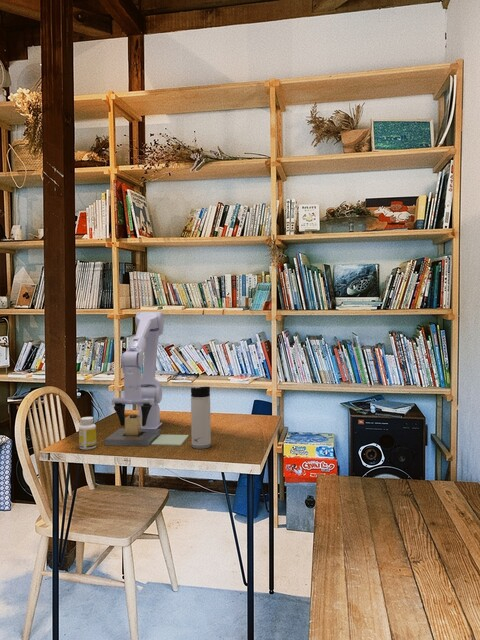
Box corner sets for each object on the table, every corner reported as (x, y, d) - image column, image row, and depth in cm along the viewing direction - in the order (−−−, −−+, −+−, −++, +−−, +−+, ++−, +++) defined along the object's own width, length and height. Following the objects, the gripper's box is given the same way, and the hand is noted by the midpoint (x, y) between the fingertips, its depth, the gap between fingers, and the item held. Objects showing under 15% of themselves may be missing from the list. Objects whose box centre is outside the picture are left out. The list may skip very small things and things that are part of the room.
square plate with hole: (120, 433, 185) (120, 428, 185) (160, 434, 183) (160, 429, 183) (104, 445, 170) (104, 439, 170) (148, 446, 168) (148, 440, 168)
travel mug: (196, 450, 163) (195, 387, 162) (188, 445, 169) (187, 385, 168) (214, 447, 166) (213, 386, 165) (206, 442, 172) (205, 383, 171)
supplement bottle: (99, 445, 170) (98, 416, 170) (92, 450, 165) (92, 419, 164) (83, 445, 171) (82, 416, 170) (76, 449, 165) (75, 419, 165)
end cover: (129, 438, 179) (129, 413, 179) (141, 438, 179) (141, 413, 178) (125, 441, 175) (124, 416, 175) (137, 441, 174) (137, 416, 174)
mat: (160, 435, 182) (160, 434, 182) (188, 436, 181) (188, 435, 181) (151, 445, 170) (151, 443, 170) (180, 445, 169) (180, 444, 169)
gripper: (108, 387, 173) (108, 427, 173) (149, 388, 171) (150, 428, 172) (115, 384, 180) (116, 422, 180) (155, 384, 178) (156, 423, 179)
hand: (133, 425), depth 177 cm, fingers open, 7 cm apart
